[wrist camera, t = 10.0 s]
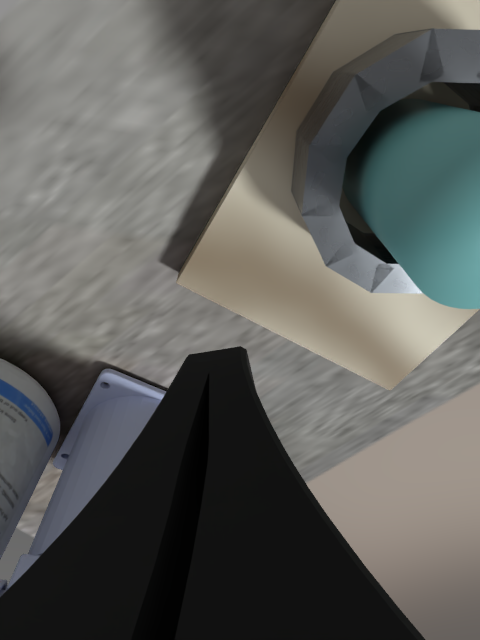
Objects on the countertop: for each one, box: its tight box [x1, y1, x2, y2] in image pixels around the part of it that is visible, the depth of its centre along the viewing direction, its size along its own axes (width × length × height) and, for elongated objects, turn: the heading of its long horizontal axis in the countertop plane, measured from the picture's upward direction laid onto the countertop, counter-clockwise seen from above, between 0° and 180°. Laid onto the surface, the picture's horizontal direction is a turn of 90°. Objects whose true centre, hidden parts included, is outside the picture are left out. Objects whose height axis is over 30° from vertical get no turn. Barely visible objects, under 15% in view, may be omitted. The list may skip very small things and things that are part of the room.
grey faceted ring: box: [291, 28, 480, 294], centre depth 14 cm, size 8×8×3 cm
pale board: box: [176, 0, 480, 390], centre depth 16 cm, size 16×13×1 cm
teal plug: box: [342, 99, 480, 309], centre depth 12 cm, size 4×4×7 cm
